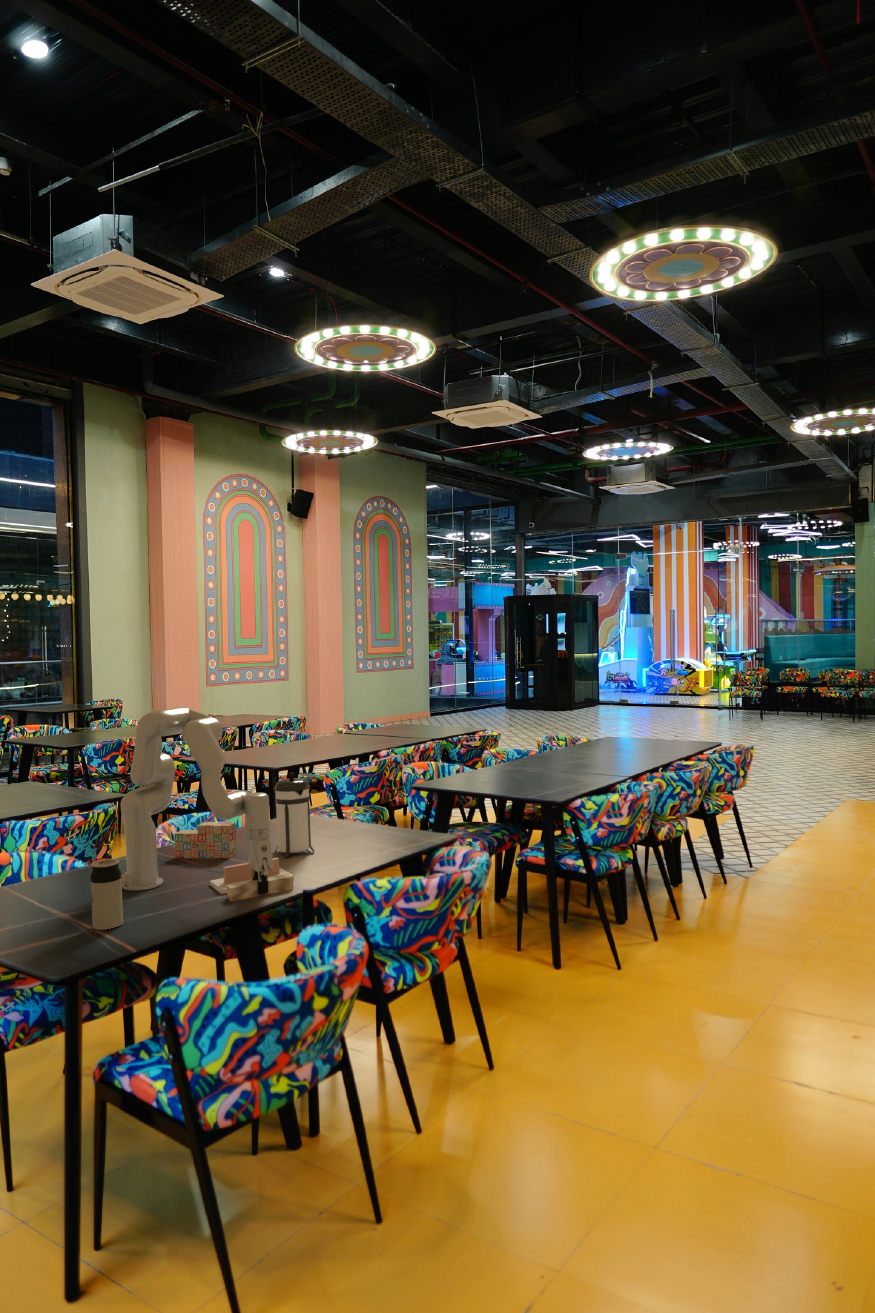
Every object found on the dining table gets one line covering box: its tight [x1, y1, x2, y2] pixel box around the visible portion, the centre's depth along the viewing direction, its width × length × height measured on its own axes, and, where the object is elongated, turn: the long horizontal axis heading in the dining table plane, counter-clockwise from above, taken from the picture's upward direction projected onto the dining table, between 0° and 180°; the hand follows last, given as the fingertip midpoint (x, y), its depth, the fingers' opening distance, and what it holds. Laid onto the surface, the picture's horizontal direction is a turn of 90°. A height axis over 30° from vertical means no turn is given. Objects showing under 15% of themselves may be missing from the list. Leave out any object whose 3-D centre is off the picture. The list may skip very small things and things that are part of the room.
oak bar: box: [226, 873, 294, 902], centre depth 258 cm, size 20×4×4 cm, turn 122°
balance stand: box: [209, 857, 295, 895], centre depth 270 cm, size 24×12×6 cm, turn 122°
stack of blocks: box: [174, 821, 237, 859], centre depth 307 cm, size 21×6×12 cm, turn 81°
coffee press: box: [274, 772, 315, 859], centre depth 307 cm, size 17×16×30 cm
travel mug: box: [89, 858, 124, 931], centre depth 233 cm, size 8×8×18 cm
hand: (260, 891), depth 258 cm, fingers closed on oak bar, 4 cm apart
